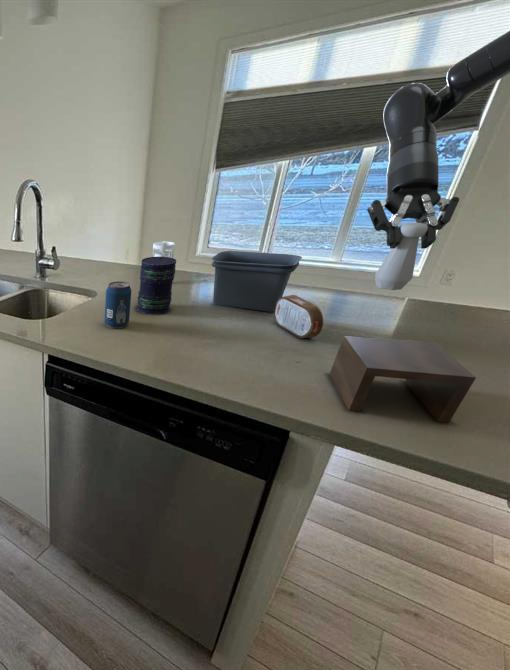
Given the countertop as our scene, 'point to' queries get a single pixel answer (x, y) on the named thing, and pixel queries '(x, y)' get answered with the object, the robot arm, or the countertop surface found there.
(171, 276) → the storage jar
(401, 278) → the salt shaker
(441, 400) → the shelf
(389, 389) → the countertop surface
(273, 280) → the storage bin
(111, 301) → the soda can
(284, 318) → the tin
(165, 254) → the strainer
